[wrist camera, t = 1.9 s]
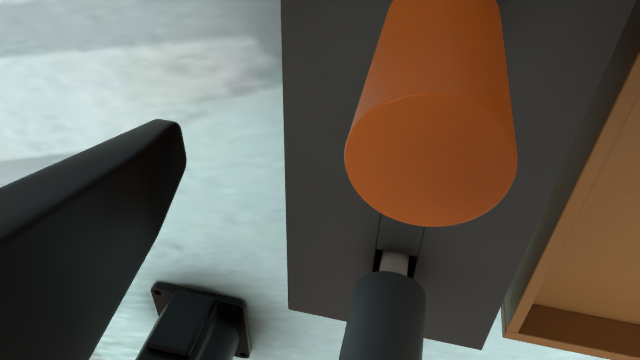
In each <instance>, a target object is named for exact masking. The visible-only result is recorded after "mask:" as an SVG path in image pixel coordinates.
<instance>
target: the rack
mask: <svg viewBox="0 0 640 360" xmlns="http://www.w3.org/2000/svg"><path fill="white" fill-rule="evenodd" d="M392 1H393V0H281V32H282V72H283V112H284V152H285V192H286V232H287V272H288V309H290V310H294V311H299V312H304V313H309V314H313V315H318V316H323V317H327V318H332V319H337V320H342V321H346V322H347V320H348V315H349V310H350V306H351V301H352V296H353V292H354V287H355V284H356V282H357V281H358V280H359V279H360V278H361V277H363V276H364V275H366V274H368V273H372V272H377V271H379V269H380V264H381V258H382V252H383V250H384V251H390V252H395V253H400V254H406V255H409V262H408V270H407V276H408V277H410V278H412V279H413V280H415V281H416V282H417V283H418V284H419V285H420V286H421V287H422V288H423V290H424V292H425V294H426V312H425V325H424V337H423V338H426V339H431V340H436V341H441V342H445V343H450V344H455V345H460V346H464V347H469V348H474V349H479V350H482V348H483V345H484V343H485V341H486V338H487V336H488V334H489V332H490V329H491V327H492V325H493V323H494V320H495V318H496V316H497V314H498V311H499V309H500V307H501V305H502V302H503V300H504V298H505V296H506V293H507V291H508V289H509V287H510V284H511V282H512V280H513V278H514V275H515V273H516V271H517V268H518V266H519V264H520V262H521V259H522V257H523V255H524V253H525V250H526V248H527V246H528V244H529V241H530V239H531V237H532V235H533V232H534V230H535V228H536V226H537V223H538V221H539V219H540V217H541V214H542V212H543V210H544V207H545V205H546V203H547V201H548V198H549V196H550V194H551V192H552V189H553V187H554V185H555V183H556V180H557V178H558V176H559V174H560V171H561V169H562V167H563V165H564V162H565V160H566V158H567V156H568V153H569V151H570V149H571V147H572V144H573V142H574V140H575V137H576V135H577V133H578V131H579V128H580V126H581V124H582V122H583V119H584V117H585V115H586V113H587V110H588V108H589V106H590V104H591V101H592V99H593V97H594V95H595V92H596V90H597V88H598V86H599V83H600V81H601V79H602V76H603V74H604V72H605V70H606V67H607V65H608V63H609V61H610V58H611V56H612V54H613V52H614V49H615V47H616V45H617V43H618V40H619V38H620V36H621V34H622V31H623V29H624V27H625V25H626V22H627V20H628V18H629V16H630V13H631V11H632V9H633V6H634V4H635V2H636V0H496V2H497V4H498V7H499V10H500V14H501V22H502V31H503V39H504V48H505V56H506V64H507V73H508V81H509V90H510V98H511V106H512V115H513V123H514V132H515V140H516V148H517V159H518V163H517V171H516V175H515V179H514V181H513V183H512V185H511V187H510V189H509V190H508V192H507V193H506V195H505V196H504V197H503V199H502V200H501V201H500V202H499V203H498V204H497V205H496V206H494V207H493V208H492V209H491V210H489V211H488V212H486V213H485V214H483V215H481V216H479V217H477V218H475V219H472V220H470V221H467V222H464V223H460V224H456V225H450V226H441V227H426V226H417V225H412V224H407V223H403V222H400V221H397V220H394V219H392V218H390V217H388V216H386V215H384V214H382V213H380V212H378V211H377V210H376V209H374V208H373V207H371V206H370V205H369V204H368V203H367V202H365V201H364V200H363V199H362V197H361V196H360V195H359V194H358V193H357V191H356V190H355V188H354V187H353V185H352V183H351V181H350V179H349V177H348V174H347V171H346V167H345V161H344V152H345V145H346V141H347V138H348V135H349V132H350V129H351V125H352V122H353V119H354V116H355V113H356V110H357V107H358V103H359V100H360V97H361V94H362V91H363V88H364V85H365V81H366V78H367V75H368V72H369V69H370V66H371V63H372V59H373V56H374V53H375V50H376V47H377V44H378V41H379V37H380V34H381V31H382V28H383V25H384V22H385V19H386V15H387V12H388V9H389V7H390V5H391V3H392Z"/></svg>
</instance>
